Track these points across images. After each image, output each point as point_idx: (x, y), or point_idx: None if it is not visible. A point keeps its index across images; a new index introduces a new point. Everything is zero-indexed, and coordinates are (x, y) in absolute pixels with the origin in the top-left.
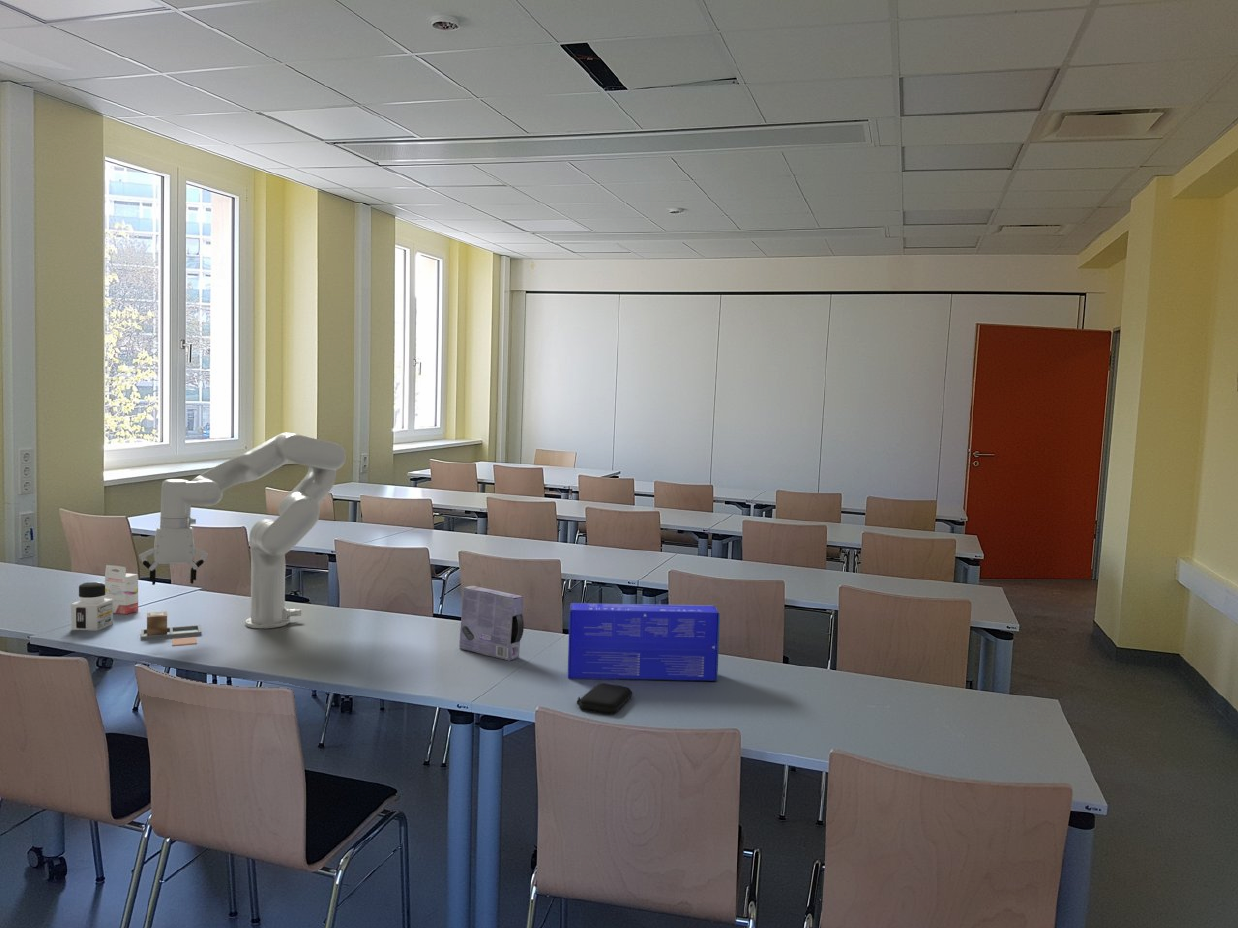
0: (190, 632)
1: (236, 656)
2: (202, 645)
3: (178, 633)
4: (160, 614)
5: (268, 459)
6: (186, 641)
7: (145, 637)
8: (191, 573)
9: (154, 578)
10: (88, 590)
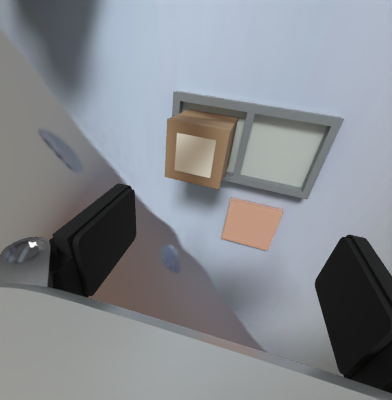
0: (279, 191)
1: (297, 330)
2: (275, 255)
3: (250, 184)
4: (202, 168)
5: None
6: (252, 232)
7: None
8: (335, 348)
9: (114, 261)
10: None
